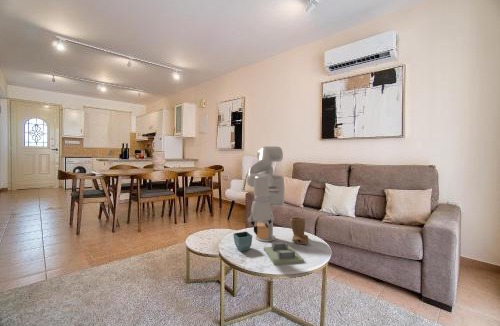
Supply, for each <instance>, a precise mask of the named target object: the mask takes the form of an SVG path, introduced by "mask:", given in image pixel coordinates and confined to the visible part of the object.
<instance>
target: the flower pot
mask: <svg viewBox="0 0 500 326" xmlns="http://www.w3.org/2000/svg"><path fill="white" fill-rule="evenodd" d="M233 240H234V244H235V247H236V248H237V250H238V251H240V252H245V251H249V249H250V248H251V246H252V242H253V235H252V234H251V233H249V232H248V231H239V232H234V233H233Z"/></svg>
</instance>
